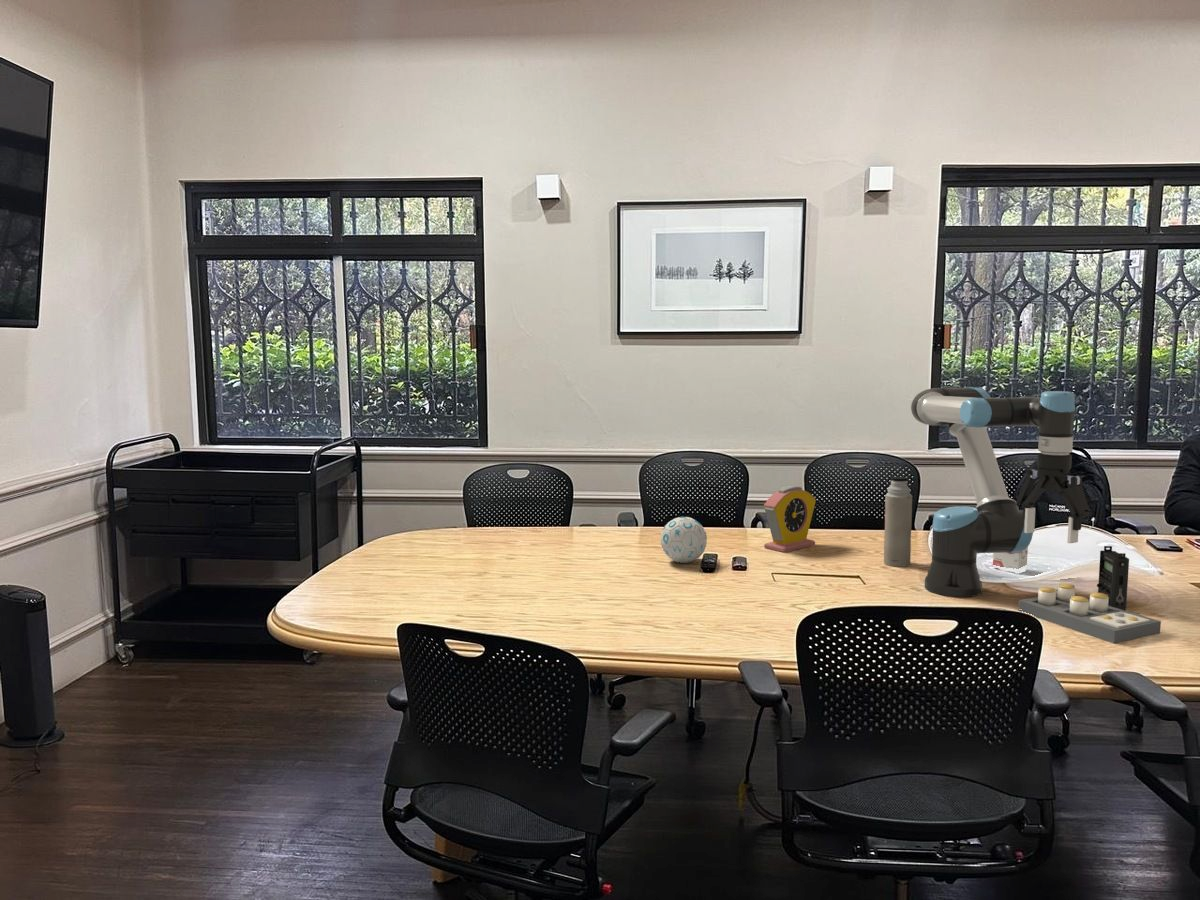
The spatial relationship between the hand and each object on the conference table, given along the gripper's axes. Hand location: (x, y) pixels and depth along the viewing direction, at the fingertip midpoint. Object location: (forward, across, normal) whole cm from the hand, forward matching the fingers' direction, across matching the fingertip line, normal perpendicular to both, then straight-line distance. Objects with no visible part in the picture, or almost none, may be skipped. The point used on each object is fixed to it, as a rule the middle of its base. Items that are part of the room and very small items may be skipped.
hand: (1050, 537), depth 208 cm
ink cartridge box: (+21, -34, +26) cm, 48 cm away
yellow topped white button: (+18, +9, +7) cm, 21 cm away
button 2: (+18, 0, +7) cm, 19 cm away
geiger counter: (+20, +2, +21) cm, 30 cm away
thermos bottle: (+21, -55, +2) cm, 59 cm away
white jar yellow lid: (+18, +9, 0) cm, 20 cm away
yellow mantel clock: (+21, -90, -15) cm, 93 cm away
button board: (+20, +9, +3) cm, 22 cm away
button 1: (+18, 0, 0) cm, 18 cm away
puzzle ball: (+21, -88, -58) cm, 107 cm away
